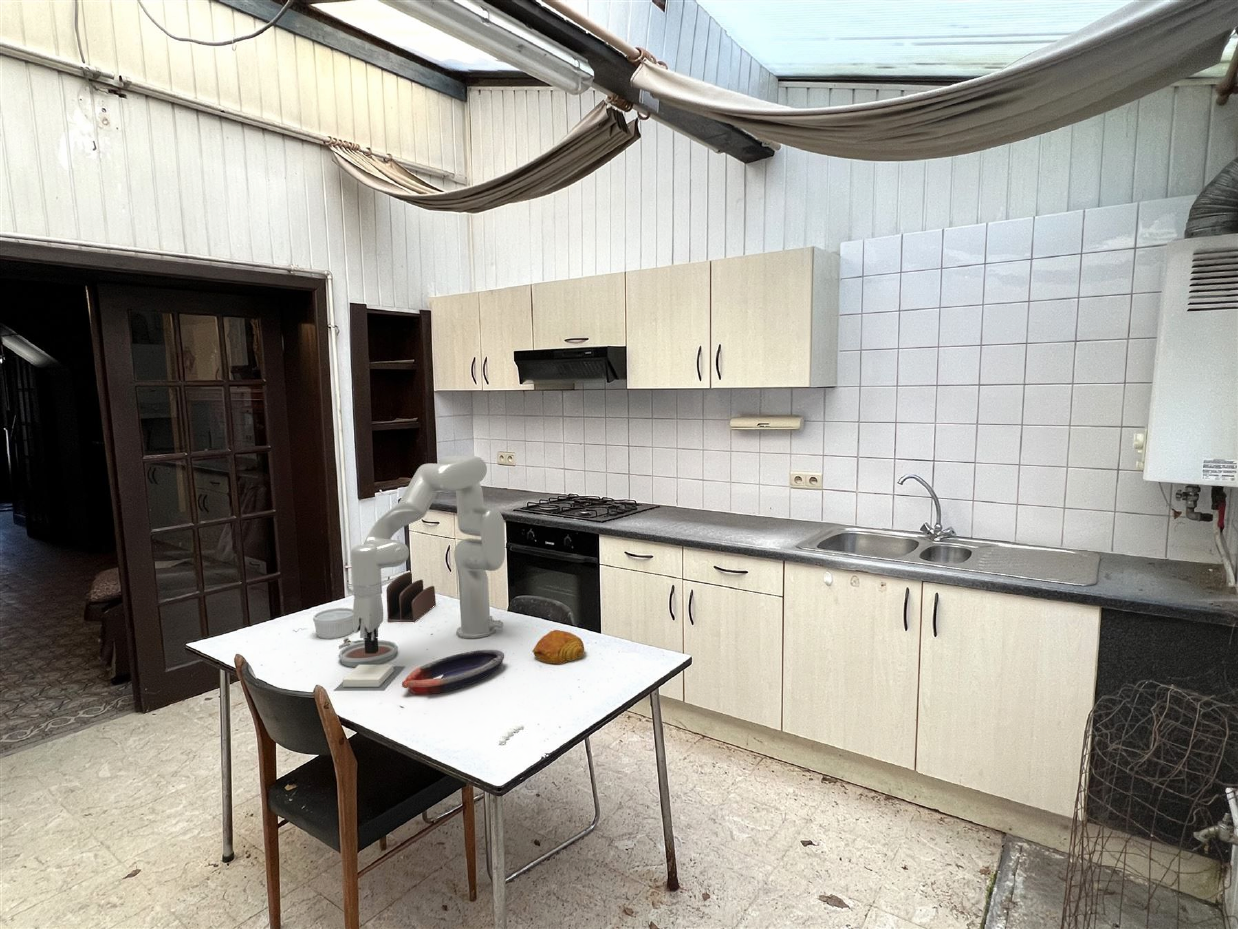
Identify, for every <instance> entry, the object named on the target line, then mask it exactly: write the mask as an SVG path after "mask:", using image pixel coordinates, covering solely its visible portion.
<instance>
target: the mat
mask: <svg viewBox="0 0 1238 929" xmlns="http://www.w3.org/2000/svg"><path fill="white" fill-rule="evenodd" d="M405 668H407V666H405V665H402V666H399V665H398V666H396V665H395V666H394V665H393V670H394V671H393V672H392V674H391V675H390V676H389V677H388V678H387V679H386V680H385V681H384V682H383V683H382V684H381V685H380V686H379V687H343V681H342V682H340V684H339V685H338V686H336V687H335V688H334V689H333V690H332V691H333V692H336V691H337V692H342V691H343V692H345V691H346V692H347V691H348V692H349V691H350V692H351V691H352V692H355V691H356V692H368V691H369V692H372V691H373V692H375V691H376V692H377V691H380V692H382V691H383V692H384V691H385V690H386V689H387V688H388V687H389V686H390V685H391V683H392V682H393V681H394V680H395V679H396V678H397V677H398V676H399V675H400V674H401V673H402V671H403V670H405Z"/></svg>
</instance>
